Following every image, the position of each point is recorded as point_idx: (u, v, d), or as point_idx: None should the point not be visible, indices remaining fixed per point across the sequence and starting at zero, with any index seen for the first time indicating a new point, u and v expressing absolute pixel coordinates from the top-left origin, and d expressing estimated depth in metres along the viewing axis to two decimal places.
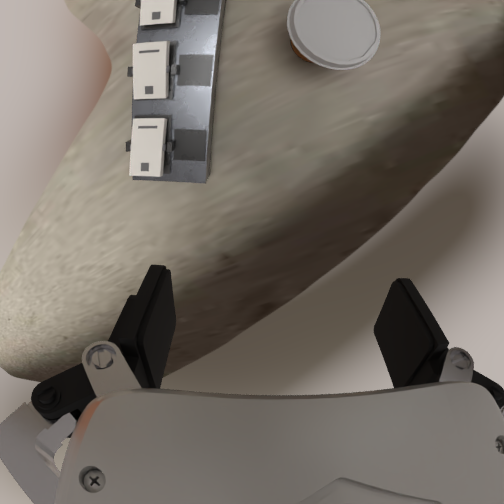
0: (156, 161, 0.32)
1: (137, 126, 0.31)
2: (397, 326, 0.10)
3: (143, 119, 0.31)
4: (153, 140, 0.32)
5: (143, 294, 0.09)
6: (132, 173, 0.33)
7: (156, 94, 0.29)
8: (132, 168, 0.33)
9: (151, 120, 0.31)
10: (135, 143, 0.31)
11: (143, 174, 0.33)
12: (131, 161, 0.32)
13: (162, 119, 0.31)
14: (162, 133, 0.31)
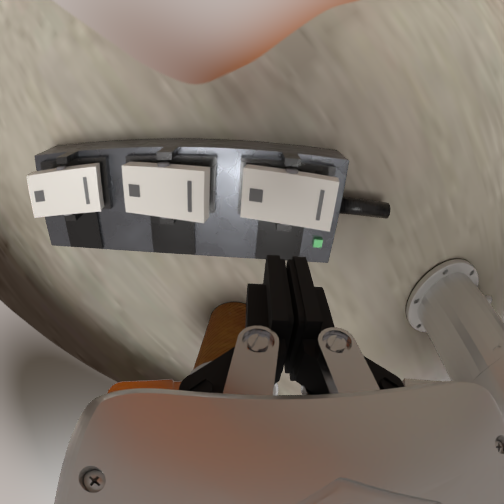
0: (48, 210, 0.21)
1: (85, 175, 0.21)
2: None
3: (95, 182, 0.21)
4: (71, 201, 0.22)
5: (275, 280, 0.10)
6: (29, 179, 0.19)
7: (129, 200, 0.22)
8: (34, 178, 0.20)
9: (95, 194, 0.22)
10: (64, 176, 0.20)
11: (31, 195, 0.20)
12: (42, 175, 0.20)
13: (99, 208, 0.23)
14: (81, 211, 0.22)
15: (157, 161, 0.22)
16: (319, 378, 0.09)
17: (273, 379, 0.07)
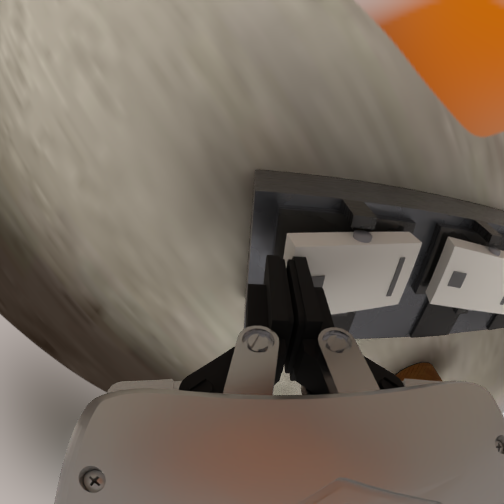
0: None
1: (404, 255, 0.13)
2: None
3: (412, 265, 0.14)
4: (365, 293, 0.14)
5: (276, 281, 0.10)
6: (300, 255, 0.12)
7: (443, 290, 0.15)
8: (314, 254, 0.12)
9: (403, 282, 0.14)
10: (373, 255, 0.13)
11: None
12: (333, 249, 0.12)
13: (397, 301, 0.15)
14: (372, 306, 0.15)
15: (470, 239, 0.15)
16: (319, 378, 0.09)
17: (273, 379, 0.07)
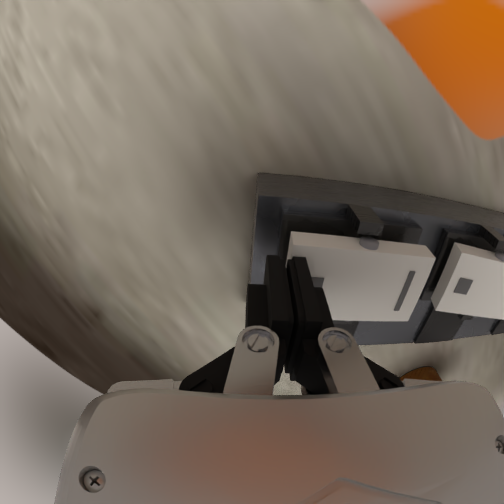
0: None
1: (415, 268, 0.12)
2: None
3: (424, 281, 0.13)
4: (370, 304, 0.13)
5: (276, 280, 0.10)
6: (298, 253, 0.12)
7: (449, 297, 0.14)
8: (312, 254, 0.12)
9: (413, 298, 0.13)
10: (378, 264, 0.12)
11: None
12: (333, 252, 0.12)
13: (406, 317, 0.14)
14: (378, 319, 0.14)
15: (476, 244, 0.14)
16: (319, 378, 0.09)
17: (273, 379, 0.07)
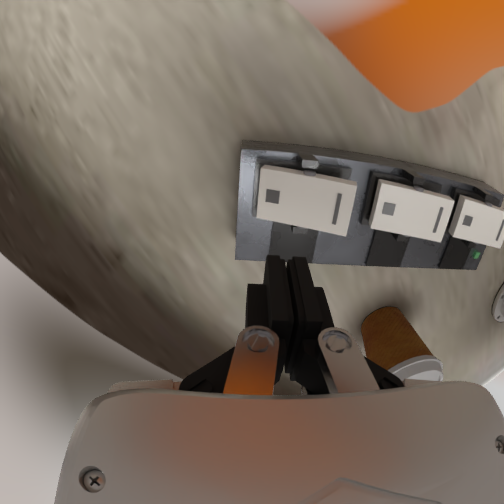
0: (279, 215, 0.22)
1: (341, 192, 0.20)
2: None
3: (351, 203, 0.20)
4: (313, 215, 0.21)
5: (276, 281, 0.10)
6: (263, 173, 0.21)
7: (379, 217, 0.23)
8: (272, 174, 0.21)
9: (345, 216, 0.21)
10: (314, 185, 0.20)
11: (261, 192, 0.22)
12: (283, 174, 0.21)
13: (344, 233, 0.21)
14: (322, 230, 0.22)
15: (400, 182, 0.23)
16: (319, 378, 0.09)
17: (273, 379, 0.07)
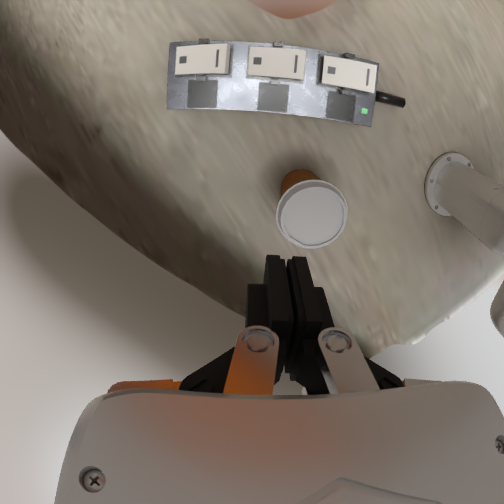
0: (187, 69, 0.32)
1: (218, 48, 0.29)
2: None
3: (225, 53, 0.30)
4: (205, 65, 0.31)
5: (276, 281, 0.10)
6: (178, 49, 0.31)
7: (252, 67, 0.32)
8: (182, 48, 0.30)
9: (223, 61, 0.30)
10: (203, 48, 0.30)
11: (177, 59, 0.31)
12: (188, 47, 0.30)
13: (223, 71, 0.31)
14: (210, 72, 0.31)
15: None
16: (319, 378, 0.09)
17: (273, 379, 0.07)
